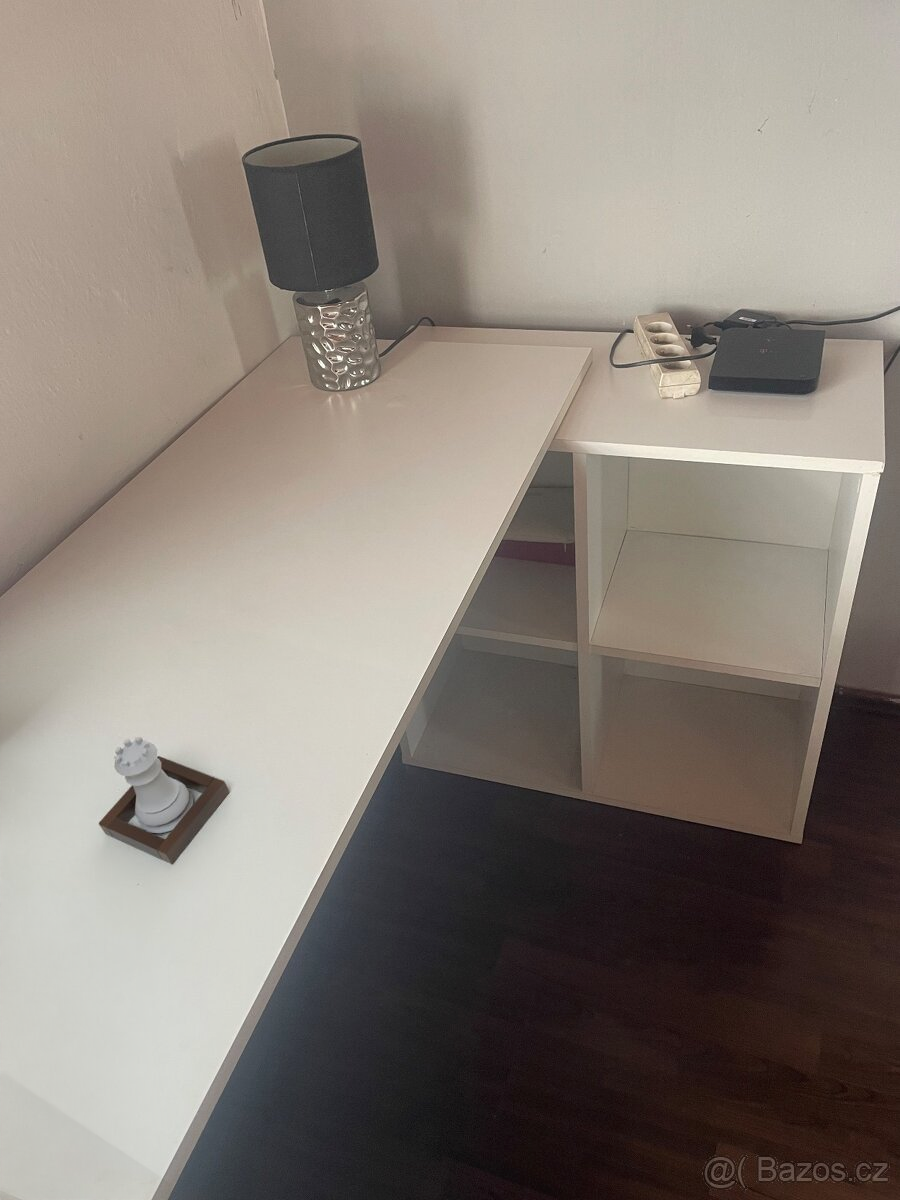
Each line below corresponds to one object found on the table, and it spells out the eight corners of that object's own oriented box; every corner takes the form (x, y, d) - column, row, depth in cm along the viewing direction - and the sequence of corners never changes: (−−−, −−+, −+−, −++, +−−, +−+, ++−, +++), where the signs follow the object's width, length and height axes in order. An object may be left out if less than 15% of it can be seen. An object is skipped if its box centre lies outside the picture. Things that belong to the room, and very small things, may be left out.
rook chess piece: (129, 828, 69) (88, 766, 64) (162, 784, 72) (126, 721, 67) (174, 842, 67) (136, 780, 62) (206, 797, 70) (172, 733, 65)
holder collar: (172, 864, 66) (165, 853, 65) (105, 834, 69) (97, 823, 68) (230, 791, 71) (224, 780, 70) (164, 766, 74) (158, 755, 73)
